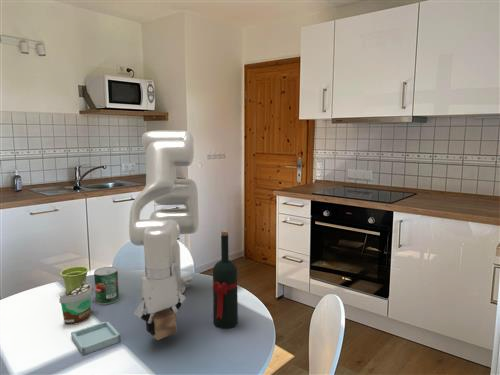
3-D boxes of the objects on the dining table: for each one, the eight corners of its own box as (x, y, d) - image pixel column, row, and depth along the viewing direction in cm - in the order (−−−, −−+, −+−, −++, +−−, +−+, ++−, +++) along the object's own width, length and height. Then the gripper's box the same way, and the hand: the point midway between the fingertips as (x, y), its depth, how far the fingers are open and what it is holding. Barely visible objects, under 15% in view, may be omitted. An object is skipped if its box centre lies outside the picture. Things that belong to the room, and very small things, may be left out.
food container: (79, 328, 118) (76, 298, 116) (61, 326, 119) (58, 296, 117) (102, 309, 130) (100, 282, 128) (85, 308, 131) (83, 280, 129)
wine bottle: (206, 330, 116) (204, 236, 111) (218, 315, 126) (216, 227, 121) (231, 334, 114) (230, 238, 109) (241, 318, 124) (240, 228, 119)
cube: (166, 323, 114) (165, 305, 113) (176, 332, 110) (175, 313, 109) (147, 330, 111) (146, 311, 109) (157, 340, 106) (156, 320, 105)
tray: (107, 326, 119) (107, 320, 118) (120, 341, 111) (120, 335, 110) (71, 338, 112) (71, 332, 112) (82, 355, 104) (82, 348, 104)
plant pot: (81, 285, 149) (79, 264, 148) (95, 291, 144) (93, 269, 142) (57, 294, 142) (55, 272, 140) (71, 300, 136) (69, 277, 135)
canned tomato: (90, 302, 135) (88, 273, 133) (106, 293, 142) (104, 265, 140) (109, 306, 132) (107, 276, 130) (123, 296, 139) (122, 268, 138)
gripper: (179, 259, 115) (181, 313, 118) (123, 274, 104) (127, 334, 108) (192, 266, 109) (194, 323, 113) (135, 284, 98) (139, 346, 102)
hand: (161, 328), depth 110 cm, fingers closed on cube, 6 cm apart
